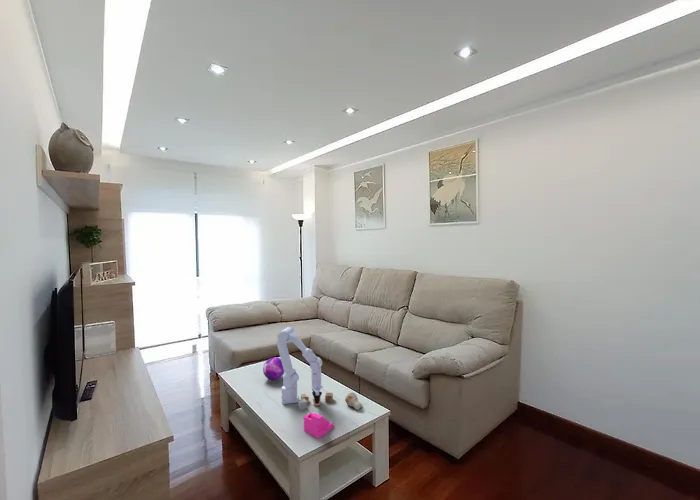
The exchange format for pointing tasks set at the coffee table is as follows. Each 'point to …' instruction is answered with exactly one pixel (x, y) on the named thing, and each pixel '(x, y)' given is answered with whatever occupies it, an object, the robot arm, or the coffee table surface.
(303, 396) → the beech cube
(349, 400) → the cream patterned bulbous figurine
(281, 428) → the coffee table surface
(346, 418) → the coffee table surface
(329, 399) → the walnut cube
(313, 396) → the terracotta cube
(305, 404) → the slate cube
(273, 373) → the decorative orb
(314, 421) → the bracket
